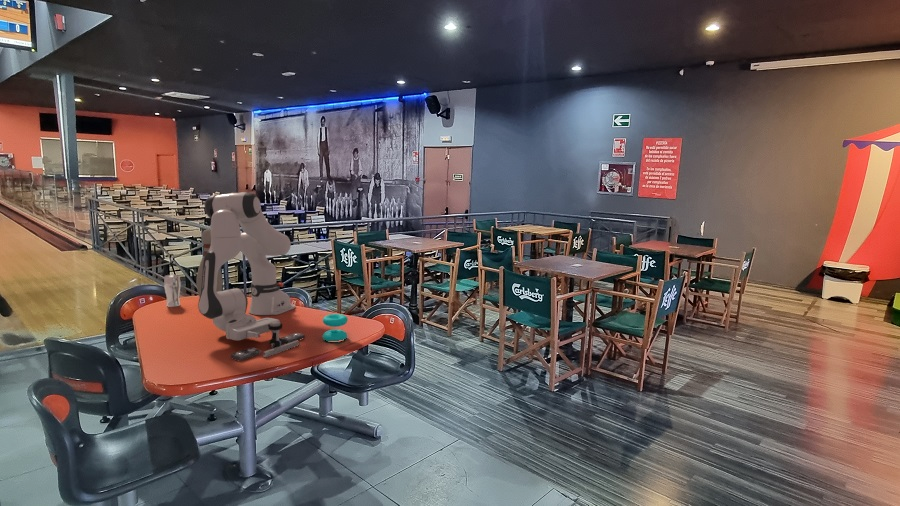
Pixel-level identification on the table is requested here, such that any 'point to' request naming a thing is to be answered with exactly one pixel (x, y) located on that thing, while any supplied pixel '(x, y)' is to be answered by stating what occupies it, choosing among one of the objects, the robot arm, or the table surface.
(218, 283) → the bowling pin
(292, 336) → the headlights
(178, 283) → the beer glass
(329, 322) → the donuts
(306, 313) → the table surface
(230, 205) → the robot arm
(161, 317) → the table surface
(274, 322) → the push button
